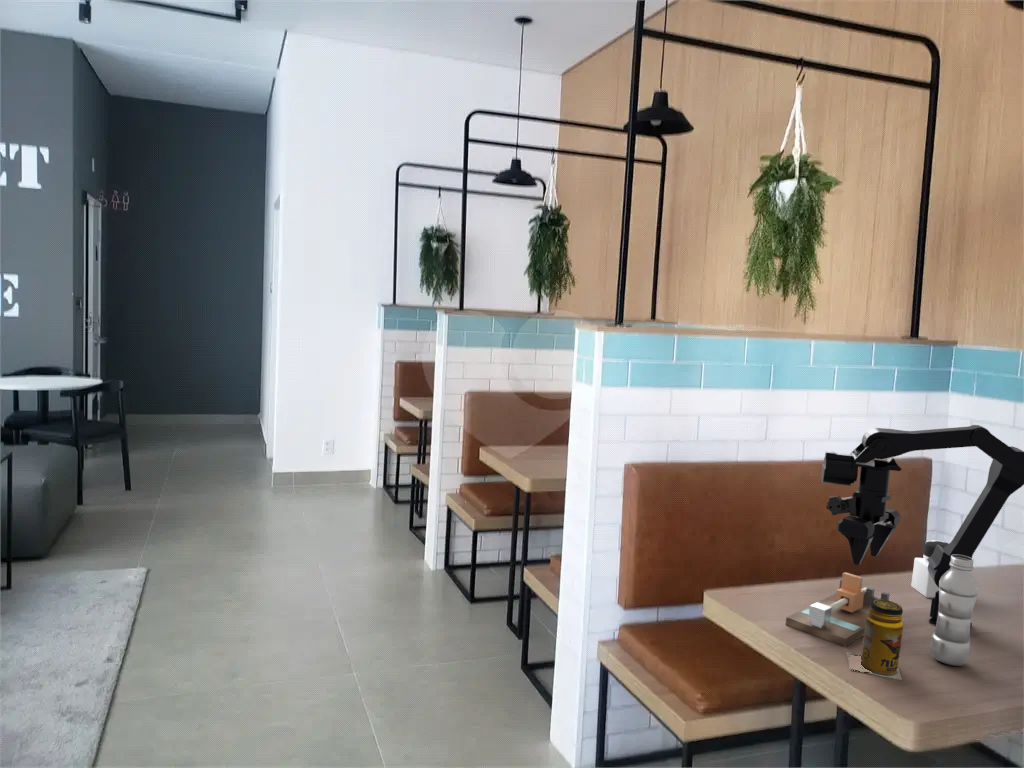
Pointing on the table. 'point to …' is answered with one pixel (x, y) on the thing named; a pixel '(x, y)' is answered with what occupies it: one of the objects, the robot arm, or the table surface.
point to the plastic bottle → (955, 612)
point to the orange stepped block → (851, 592)
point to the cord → (842, 602)
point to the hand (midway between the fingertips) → (865, 560)
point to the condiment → (882, 639)
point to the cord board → (833, 623)
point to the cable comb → (871, 595)
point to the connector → (819, 615)
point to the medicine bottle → (925, 571)
